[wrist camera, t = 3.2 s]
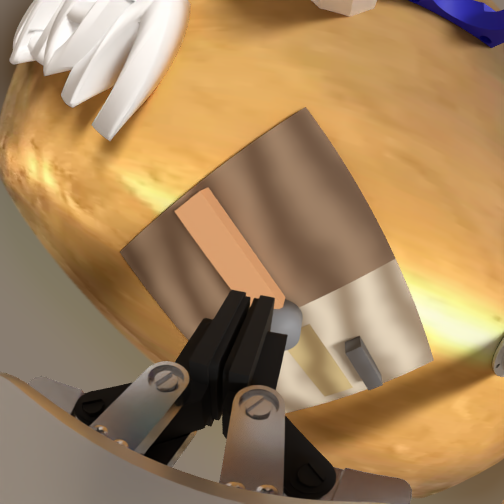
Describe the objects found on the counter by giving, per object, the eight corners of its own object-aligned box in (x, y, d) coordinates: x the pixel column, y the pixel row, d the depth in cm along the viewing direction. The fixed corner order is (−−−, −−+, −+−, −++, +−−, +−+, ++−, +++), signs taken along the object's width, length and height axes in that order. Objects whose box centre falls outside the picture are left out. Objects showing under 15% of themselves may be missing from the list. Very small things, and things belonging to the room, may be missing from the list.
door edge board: (306, 108, 23) (304, 103, 20) (431, 355, 29) (437, 370, 26) (124, 249, 34) (110, 257, 31) (264, 413, 40) (261, 426, 37)
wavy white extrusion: (248, 35, 21) (209, -12, 11) (153, 151, 28) (86, 161, 18) (93, -29, 18) (50, -45, 8) (41, 48, 25) (-5, 46, 15)
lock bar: (310, 324, 30) (308, 342, 27) (275, 338, 32) (270, 356, 29) (212, 183, 26) (199, 189, 23) (179, 209, 28) (164, 217, 25)
